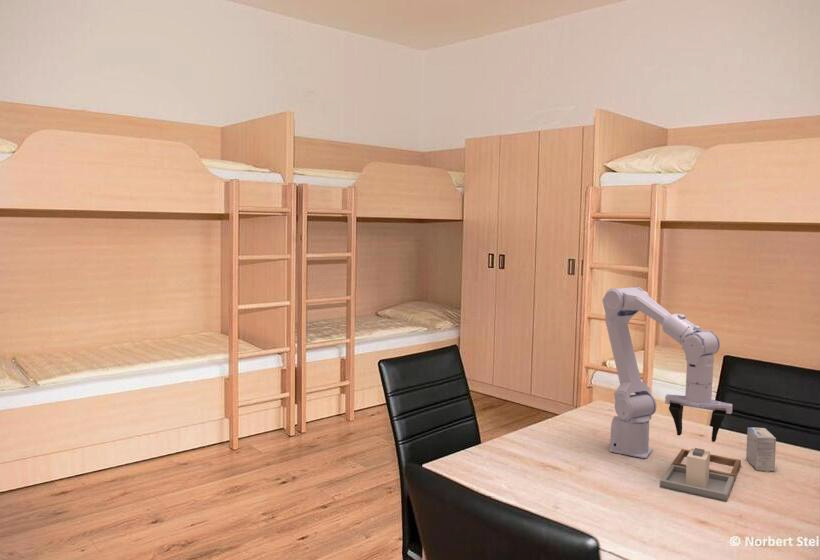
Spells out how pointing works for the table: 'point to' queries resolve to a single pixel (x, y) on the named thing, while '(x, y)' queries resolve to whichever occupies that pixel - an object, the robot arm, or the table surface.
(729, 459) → the frame
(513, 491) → the table surface
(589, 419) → the table surface
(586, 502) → the table surface
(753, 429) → the medicine box
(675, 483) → the lower tray
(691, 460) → the plug block
